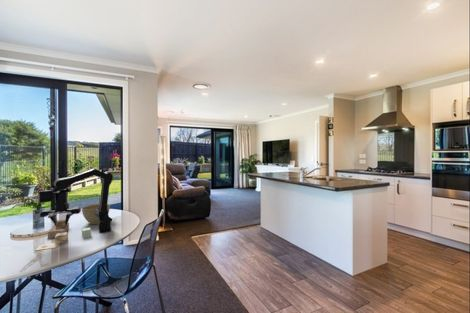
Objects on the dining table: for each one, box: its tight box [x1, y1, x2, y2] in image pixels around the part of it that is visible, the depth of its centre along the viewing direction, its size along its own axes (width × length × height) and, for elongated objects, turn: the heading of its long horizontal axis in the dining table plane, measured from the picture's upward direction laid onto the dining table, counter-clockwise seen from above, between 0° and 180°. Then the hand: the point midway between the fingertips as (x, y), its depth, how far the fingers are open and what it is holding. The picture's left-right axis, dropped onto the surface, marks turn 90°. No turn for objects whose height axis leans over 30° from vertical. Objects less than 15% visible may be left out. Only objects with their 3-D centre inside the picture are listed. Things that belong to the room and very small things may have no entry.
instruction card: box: [34, 242, 60, 252], centre depth 127 cm, size 9×7×1 cm
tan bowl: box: [81, 203, 111, 225], centre depth 169 cm, size 18×18×12 cm
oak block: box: [54, 231, 69, 244], centre depth 135 cm, size 5×5×4 cm
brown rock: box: [47, 222, 70, 239], centre depth 148 cm, size 17×8×5 cm, turn 27°
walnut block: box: [56, 218, 67, 230], centre depth 134 cm, size 4×4×4 cm
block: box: [81, 227, 92, 239], centre depth 143 cm, size 4×4×4 cm
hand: (61, 226), depth 135 cm, fingers closed on walnut block, 4 cm apart
